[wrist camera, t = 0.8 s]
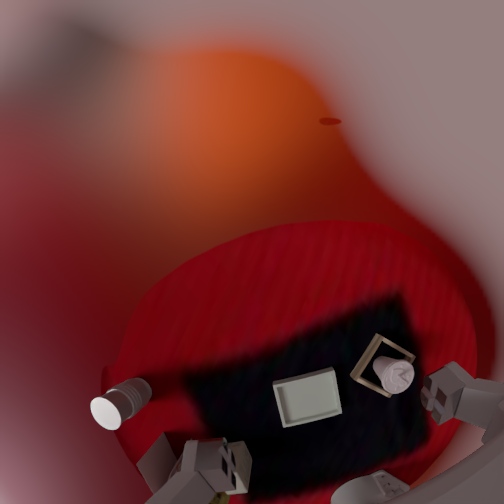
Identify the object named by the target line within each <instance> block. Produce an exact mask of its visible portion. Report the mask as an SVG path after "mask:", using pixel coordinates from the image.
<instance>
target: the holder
mask: <svg viewBox="0 0 504 504" xmlns="http://www.w3.org/2000/svg"><path fill="white" fill-rule="evenodd" d="M381 341H383V342H385V343H386V344H388V345H390V346H392V347H393V348H395V349H397V350H398V351H400V352H402V353H403V354H405V355H406V356H405V357H404V359H403V360H406V361H408V362H409V363H410V364H412V362H413V361H414V359H415V357H416V356H414V355H413V354H411V353H409V352H408V351H406V350H404V349H403V348H401V347H399V346H398V345H396V344H394V343H393V342H391V341H389V340H388V339H386V338H384V337H383V336H381V335H379V334H377V333H376V334H375V336H374V338H373V339H372V341H371V343H370V344H369V346H368V348H367V349H366V351H365V352H364V354H363V356H362V357H361V359H360V360H359V362H358V363H357V365H356V366H355V368H354V369H353V371H352V372H351V374H350V376H351V377H352V378H353V379H354V380H356V381H358V382H359V383H361V384H363V385H365V386H367V387H369V388H371V389H373V390H375V391H377V392H379V393H381V394H383V395H385V396H387V397H389V398H390V397H391V395H392V393H389V392H388V391H386V390H385V389H383V388H381V387H379V386H377V385H375V384H373V383H371V382H369V381H368V380H366V379H364V378H362V377H360V375H361V373H362V372H363V370H364V369H365V367H366V366H367V364H368V362H369V361H370V359H371V358H372V356H373V355H374V353H375V351H376V350H377V348H378V346H379V345H380V343H381Z"/></svg>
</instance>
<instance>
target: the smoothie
mask: <svg viewBox="0 0 504 504" xmlns="http://www.w3.org/2000/svg"><path fill="white" fill-rule="evenodd" d="M373 369H374V371H375V372H376V374H377V375H378V377H379V378H380V380H381V382H382V386H383V388H384V389H385V390H386V391H388V392H389V393H392V394H397V393H400V392H403V391H404V390H406V389H407V388H408V387H409V386H410V384H411V382H412V380H413V377H414V369H413V366H412V365H411V364H410V363H409V362H408V361H406V360H396V359H393V358H389V357H385V356H380V357H378V358H377V359H376V360H375V361H374V363H373Z"/></svg>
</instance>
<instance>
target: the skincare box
mask: <svg viewBox="0 0 504 504" xmlns="http://www.w3.org/2000/svg"><path fill="white" fill-rule="evenodd" d="M228 447H229V448H231V450H232V451H233V454H234V457H235V462H236V469H235V470H234V472H233V473H234V475H235V476H236V490H233V491H225V492H226V494H227V495H230V494H240V493H247V492H248V486H249V479H250V472H251V464H252V458H251V455H250V453H249V451H248V449H247V447H246V445H245V443H244V441H239V442H233V443H228Z"/></svg>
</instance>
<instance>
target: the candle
mask: <svg viewBox="0 0 504 504" xmlns="http://www.w3.org/2000/svg"><path fill="white" fill-rule="evenodd" d="M151 395H152V390H151V387H150V386H149V384H148V383H147V382H146V381H145V380H143V379H141V378H133V379H128V380H126V381H125V382H124V383H121V384H118V385H116V386H114V387H113V388H111V389H109V390H108V391H107V393H106V394H105V395H103V396H101V397H97V398H95V399H94V400H93V401H92V402H91V412H92V414H93V416H94V418H95V420H96V421H97V422H98V423H99V424H100V425H101V426H103V427H104V428H106V429H109V430H115V429H117V428H119V427H120V425H121V423H123V422H124V421H125V420H126V419H129V418H131V417H132V416H134V415H135V414H136V413H137V412H138V411H139V410H141V408H142V407H143V406H145V405H146V404H147V403H148V402H149V399H150V398H151Z"/></svg>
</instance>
